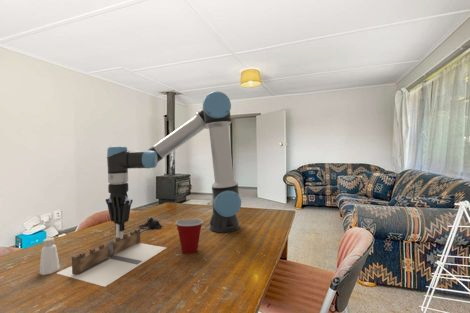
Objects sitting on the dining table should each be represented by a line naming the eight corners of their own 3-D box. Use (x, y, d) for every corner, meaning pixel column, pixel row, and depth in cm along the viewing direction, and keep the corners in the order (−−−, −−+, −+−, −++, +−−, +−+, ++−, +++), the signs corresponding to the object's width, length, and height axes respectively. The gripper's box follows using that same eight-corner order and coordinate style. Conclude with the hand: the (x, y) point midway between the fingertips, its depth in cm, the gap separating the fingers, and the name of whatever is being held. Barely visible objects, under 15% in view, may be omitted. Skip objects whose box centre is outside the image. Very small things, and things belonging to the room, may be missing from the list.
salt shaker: (64, 267, 79) (62, 235, 78) (52, 275, 73) (50, 241, 73) (48, 267, 78) (46, 236, 78) (34, 276, 73) (33, 242, 73)
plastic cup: (208, 246, 93) (207, 217, 93) (195, 258, 83) (194, 226, 83) (185, 243, 97) (184, 215, 96) (170, 254, 86) (169, 223, 86)
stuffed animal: (163, 221, 125) (161, 214, 115) (162, 239, 120) (159, 233, 110) (141, 222, 123) (136, 215, 113) (139, 241, 118) (133, 235, 108)
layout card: (166, 248, 92) (166, 247, 92) (104, 288, 66) (104, 286, 66) (125, 241, 100) (125, 240, 100) (56, 274, 74) (56, 272, 74)
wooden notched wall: (110, 257, 84) (109, 242, 83) (106, 256, 84) (105, 241, 84) (140, 242, 98) (140, 229, 97) (137, 241, 98) (136, 228, 98)
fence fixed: (75, 274, 72) (74, 257, 72) (72, 274, 73) (71, 256, 73) (108, 257, 83) (108, 242, 83) (105, 257, 84) (105, 242, 84)
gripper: (99, 183, 95) (101, 239, 95) (122, 184, 90) (124, 243, 91) (114, 181, 102) (116, 233, 102) (137, 182, 97) (138, 236, 98)
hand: (120, 238), depth 96 cm, fingers closed
